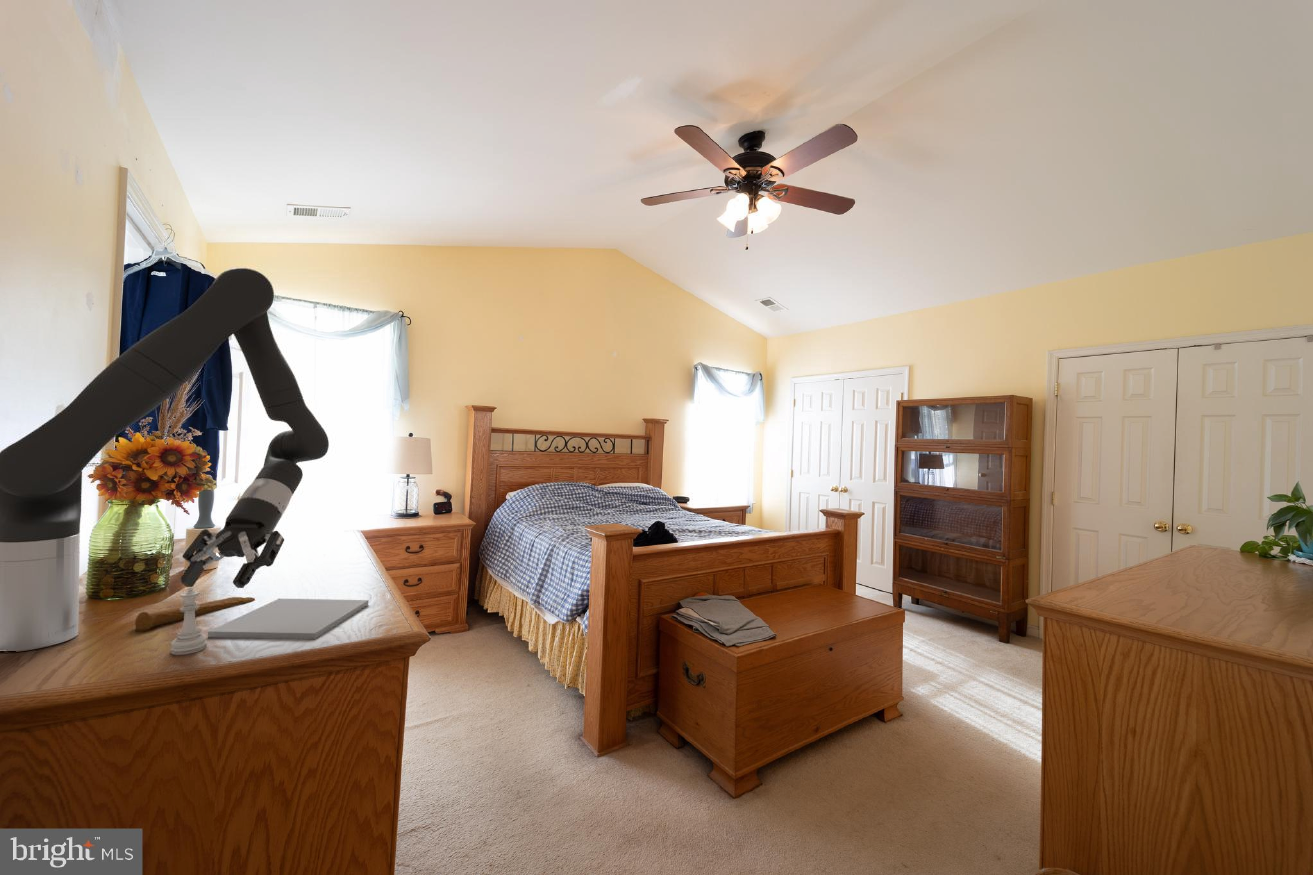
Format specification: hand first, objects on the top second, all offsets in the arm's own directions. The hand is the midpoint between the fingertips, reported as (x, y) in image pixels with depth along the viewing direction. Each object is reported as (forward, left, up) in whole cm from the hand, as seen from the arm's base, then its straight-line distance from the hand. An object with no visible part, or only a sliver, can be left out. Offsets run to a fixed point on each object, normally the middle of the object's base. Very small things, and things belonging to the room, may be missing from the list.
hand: (211, 585), depth 91 cm
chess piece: (0, -4, -9) cm, 10 cm away
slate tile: (+8, +10, -9) cm, 15 cm away
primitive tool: (-12, +13, -10) cm, 20 cm away
